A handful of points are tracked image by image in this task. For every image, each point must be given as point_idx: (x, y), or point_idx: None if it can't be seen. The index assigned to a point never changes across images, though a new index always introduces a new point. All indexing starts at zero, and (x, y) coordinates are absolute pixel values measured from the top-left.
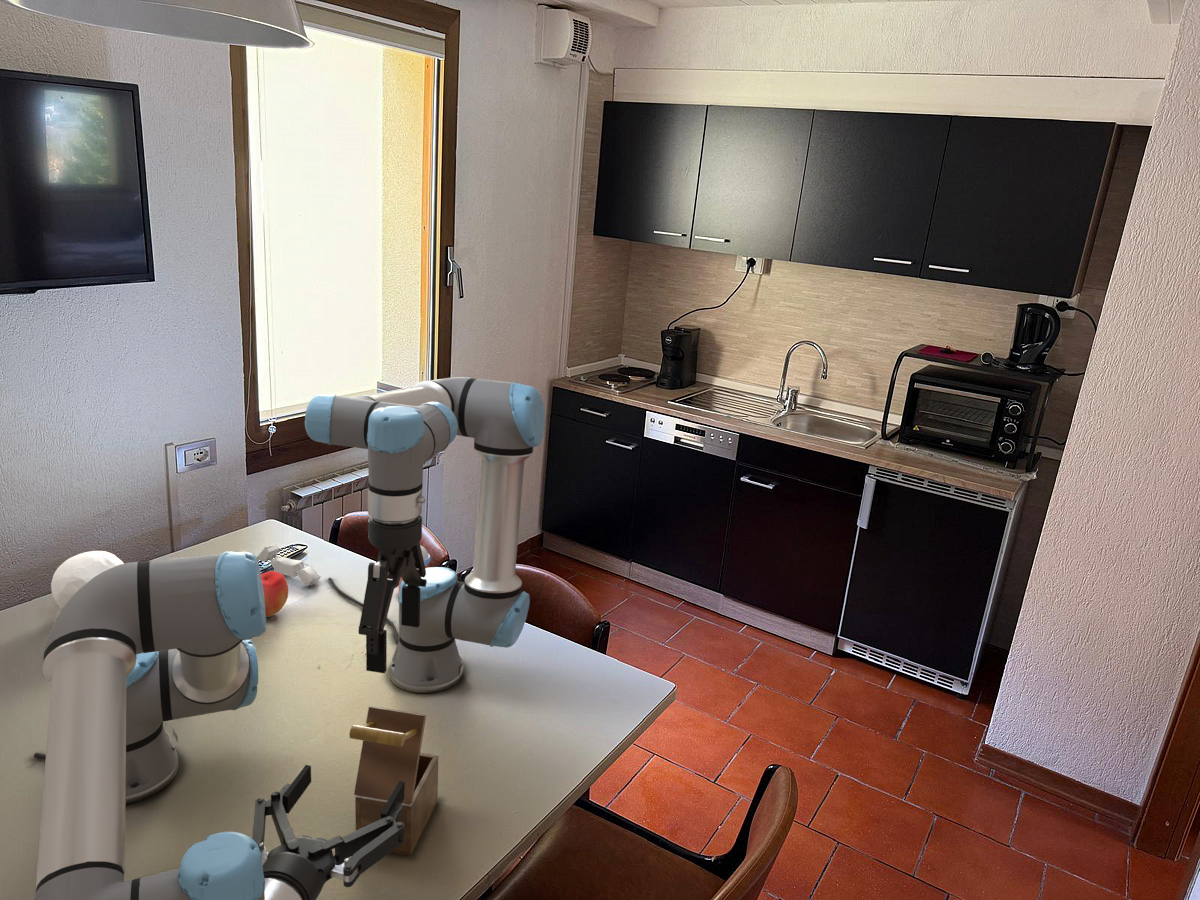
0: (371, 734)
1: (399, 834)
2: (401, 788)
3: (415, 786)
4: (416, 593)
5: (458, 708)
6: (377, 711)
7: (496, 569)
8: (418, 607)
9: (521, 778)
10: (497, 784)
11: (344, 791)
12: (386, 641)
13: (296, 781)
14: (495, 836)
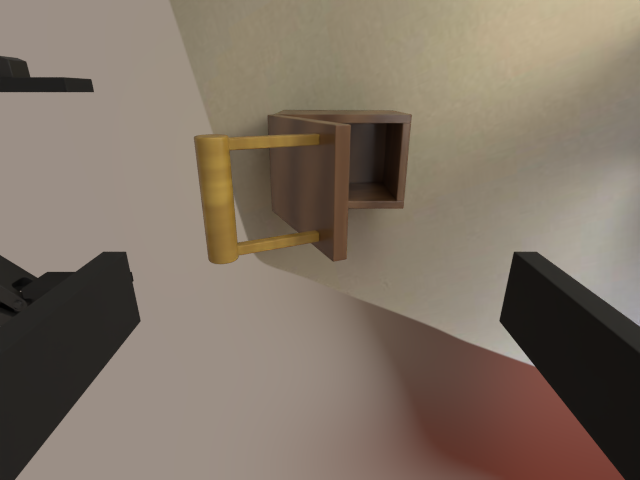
0: (201, 194)
1: None
2: None
3: (387, 161)
4: (632, 467)
5: (612, 148)
6: (331, 150)
7: None
8: (558, 395)
9: (449, 276)
10: (433, 251)
11: (385, 41)
12: (47, 435)
13: (4, 85)
14: (341, 271)
